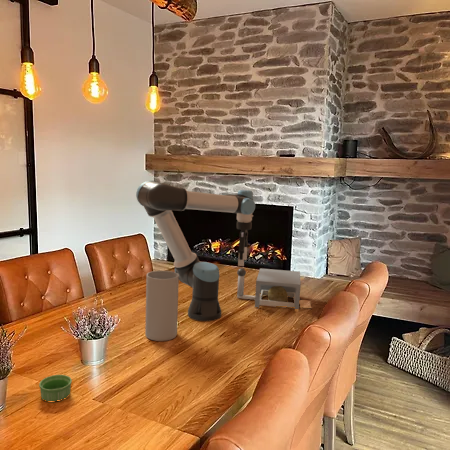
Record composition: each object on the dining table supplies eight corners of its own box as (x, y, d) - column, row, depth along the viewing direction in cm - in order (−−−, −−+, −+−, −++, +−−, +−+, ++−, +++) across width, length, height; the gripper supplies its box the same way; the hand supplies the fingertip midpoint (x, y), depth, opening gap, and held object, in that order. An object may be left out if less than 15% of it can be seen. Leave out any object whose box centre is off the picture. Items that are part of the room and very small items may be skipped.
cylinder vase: (147, 342, 172) (148, 279, 168) (143, 330, 184) (145, 271, 180) (179, 340, 176) (181, 278, 172) (174, 328, 188) (176, 270, 184)
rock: (276, 312, 223) (287, 297, 219) (260, 297, 228) (271, 282, 224) (285, 309, 231) (296, 294, 227) (269, 294, 236) (280, 280, 232)
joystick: (295, 297, 235) (297, 268, 233) (295, 308, 218) (297, 277, 216) (238, 292, 239) (239, 263, 237) (233, 302, 222) (235, 272, 220)
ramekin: (75, 388, 138) (75, 374, 137) (66, 404, 129) (66, 390, 128) (46, 387, 137) (45, 374, 137) (34, 403, 129) (34, 389, 128)
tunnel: (310, 297, 238) (312, 272, 235) (312, 313, 213) (314, 285, 211) (258, 292, 241) (260, 268, 239) (254, 307, 217) (256, 280, 215)
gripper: (249, 225, 212) (247, 269, 215) (254, 218, 236) (252, 257, 239) (233, 224, 213) (231, 268, 216) (239, 217, 237) (238, 256, 241)
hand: (242, 262), depth 228 cm, fingers open, 13 cm apart
